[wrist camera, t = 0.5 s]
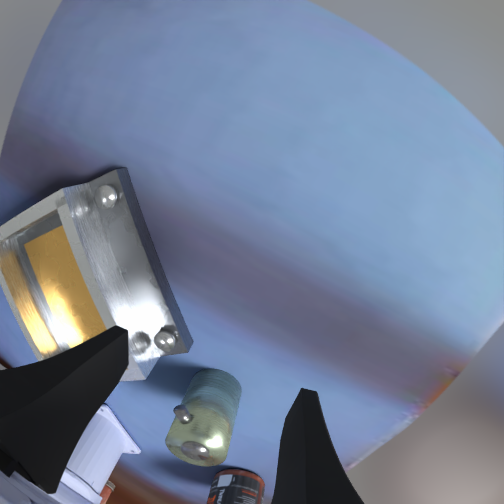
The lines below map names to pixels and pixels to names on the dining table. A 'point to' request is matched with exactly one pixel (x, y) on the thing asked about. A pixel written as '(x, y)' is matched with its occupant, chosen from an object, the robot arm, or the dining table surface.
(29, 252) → the grey shallow box
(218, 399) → the spout can
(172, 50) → the dining table surface
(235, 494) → the supplement bottle
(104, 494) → the lighter
